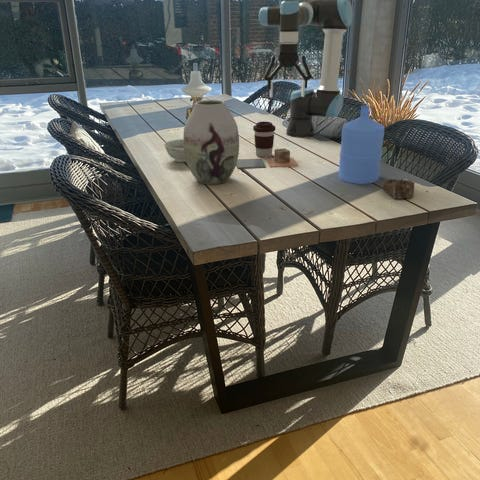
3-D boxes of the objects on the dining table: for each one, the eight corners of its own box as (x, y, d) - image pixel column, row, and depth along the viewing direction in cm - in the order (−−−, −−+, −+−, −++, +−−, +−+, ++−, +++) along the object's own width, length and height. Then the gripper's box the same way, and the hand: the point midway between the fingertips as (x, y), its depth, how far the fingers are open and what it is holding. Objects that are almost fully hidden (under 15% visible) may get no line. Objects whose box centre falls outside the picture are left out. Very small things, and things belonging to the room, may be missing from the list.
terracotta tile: (292, 159, 218) (292, 157, 218) (298, 166, 208) (298, 165, 207) (266, 160, 217) (266, 158, 217) (270, 167, 207) (270, 166, 206)
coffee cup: (273, 159, 218) (273, 125, 212) (251, 158, 220) (251, 124, 214) (276, 153, 227) (276, 120, 221) (255, 152, 229) (255, 120, 223)
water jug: (371, 188, 182) (379, 111, 171) (331, 181, 190) (337, 107, 178) (384, 176, 194) (392, 105, 182) (346, 170, 202) (352, 101, 190)
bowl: (206, 156, 223) (205, 140, 220) (191, 166, 210) (190, 149, 206) (174, 154, 228) (173, 138, 225) (158, 163, 214) (157, 146, 211)
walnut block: (284, 159, 215) (285, 148, 213) (289, 162, 211) (290, 151, 209) (274, 160, 214) (274, 149, 211) (279, 163, 209) (279, 152, 207)
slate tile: (261, 160, 217) (261, 158, 217) (265, 168, 206) (265, 166, 206) (234, 161, 216) (234, 159, 216) (237, 169, 205) (237, 167, 205)
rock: (382, 189, 180) (384, 172, 177) (403, 189, 180) (406, 172, 178) (394, 200, 168) (396, 182, 166) (416, 200, 169) (419, 182, 166)
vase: (198, 192, 180) (194, 109, 167) (177, 176, 197) (172, 100, 184) (249, 183, 189) (249, 103, 176) (225, 169, 206) (223, 95, 193)
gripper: (316, 42, 203) (313, 94, 212) (257, 42, 201) (256, 96, 210) (321, 43, 196) (317, 97, 205) (259, 44, 194) (259, 98, 203)
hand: (286, 96), depth 208 cm, fingers open, 13 cm apart
